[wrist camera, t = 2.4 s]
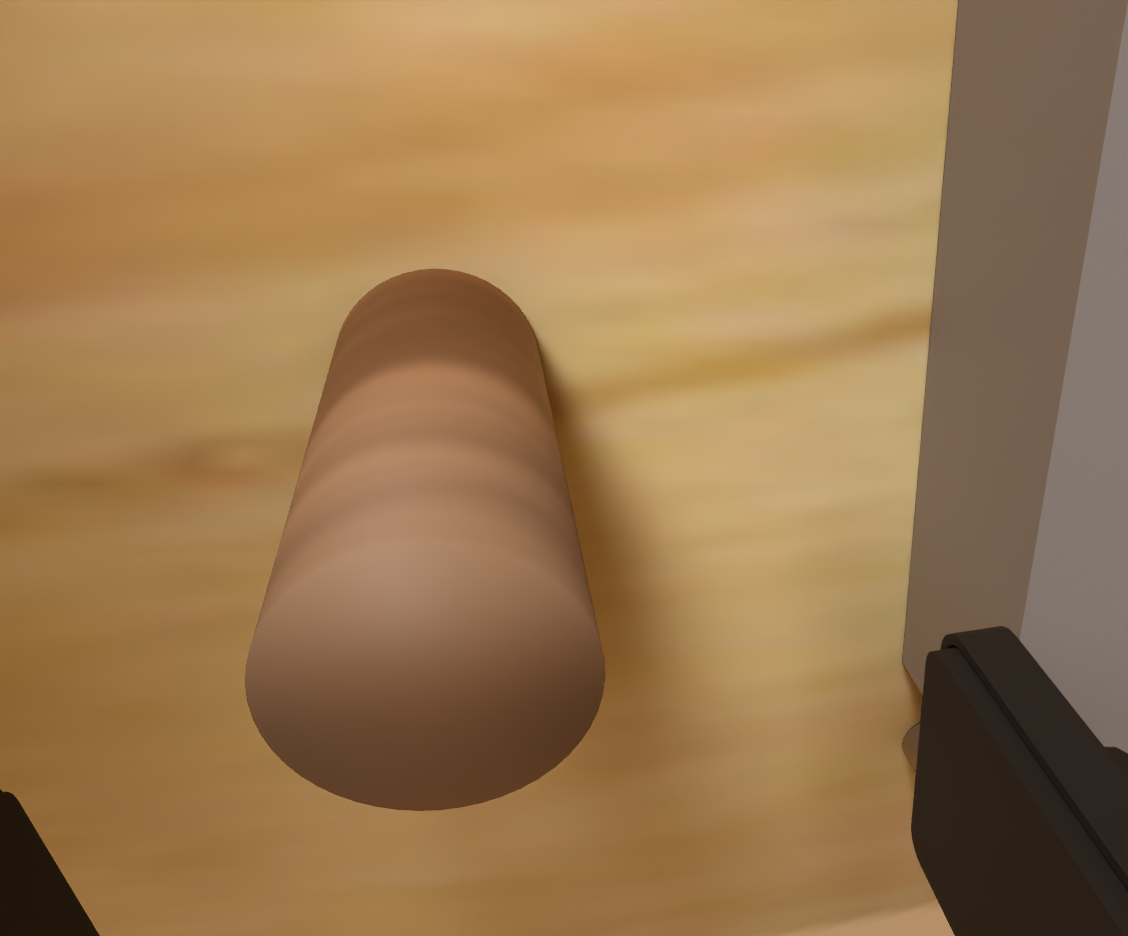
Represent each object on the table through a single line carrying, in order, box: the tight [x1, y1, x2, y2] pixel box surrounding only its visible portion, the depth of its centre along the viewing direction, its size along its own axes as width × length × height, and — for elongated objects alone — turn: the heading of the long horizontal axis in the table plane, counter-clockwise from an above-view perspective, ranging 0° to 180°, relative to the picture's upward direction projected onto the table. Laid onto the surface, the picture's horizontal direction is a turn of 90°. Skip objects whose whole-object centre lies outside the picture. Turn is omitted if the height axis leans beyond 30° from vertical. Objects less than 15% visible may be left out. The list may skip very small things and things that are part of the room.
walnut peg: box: [245, 269, 605, 811], centre depth 14 cm, size 4×4×9 cm
